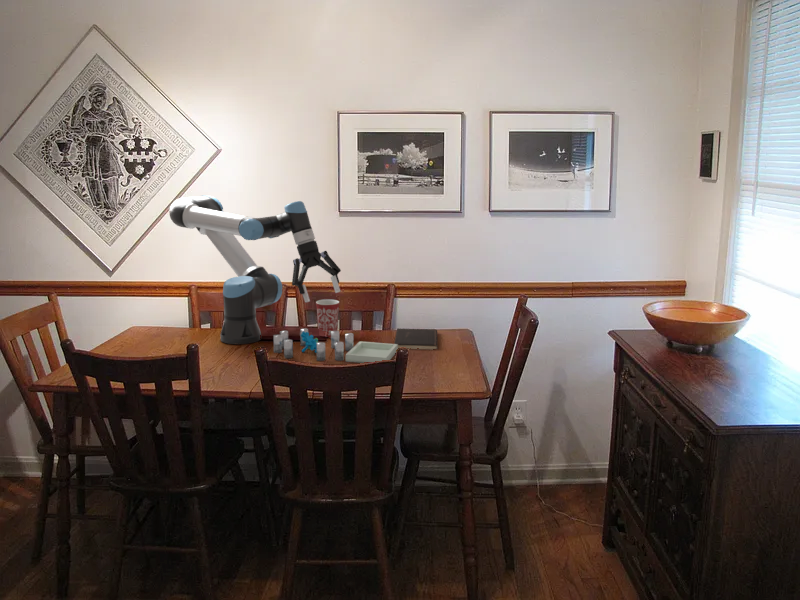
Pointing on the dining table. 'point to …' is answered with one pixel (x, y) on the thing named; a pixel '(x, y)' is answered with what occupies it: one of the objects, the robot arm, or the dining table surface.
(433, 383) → the dining table surface
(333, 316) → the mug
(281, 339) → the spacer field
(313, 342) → the blue plastic irregular piece
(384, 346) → the parts tray
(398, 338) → the hardcover book
